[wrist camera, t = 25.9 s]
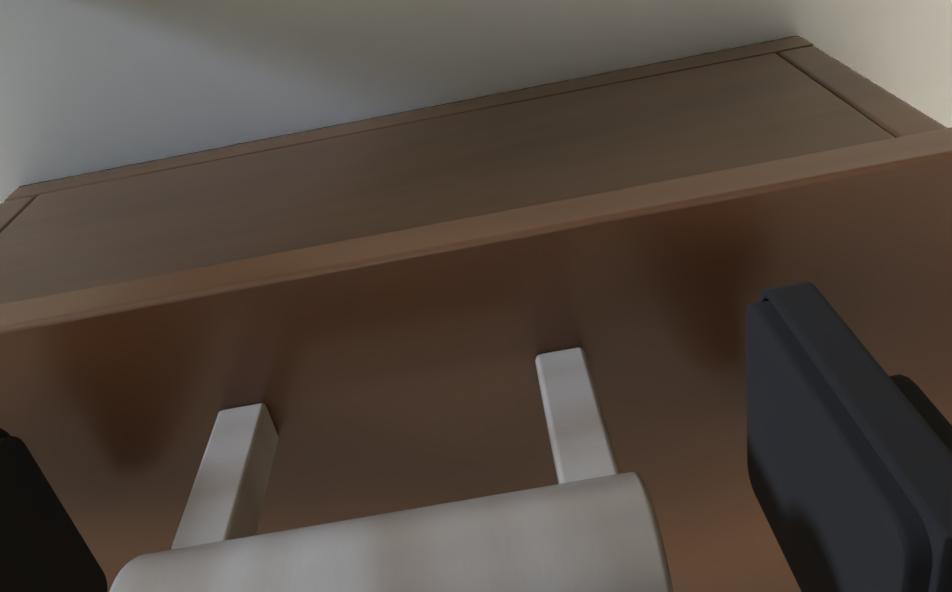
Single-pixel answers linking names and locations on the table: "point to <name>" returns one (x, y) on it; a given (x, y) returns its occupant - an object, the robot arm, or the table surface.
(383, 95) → the table surface
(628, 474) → the box lid
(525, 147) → the box
